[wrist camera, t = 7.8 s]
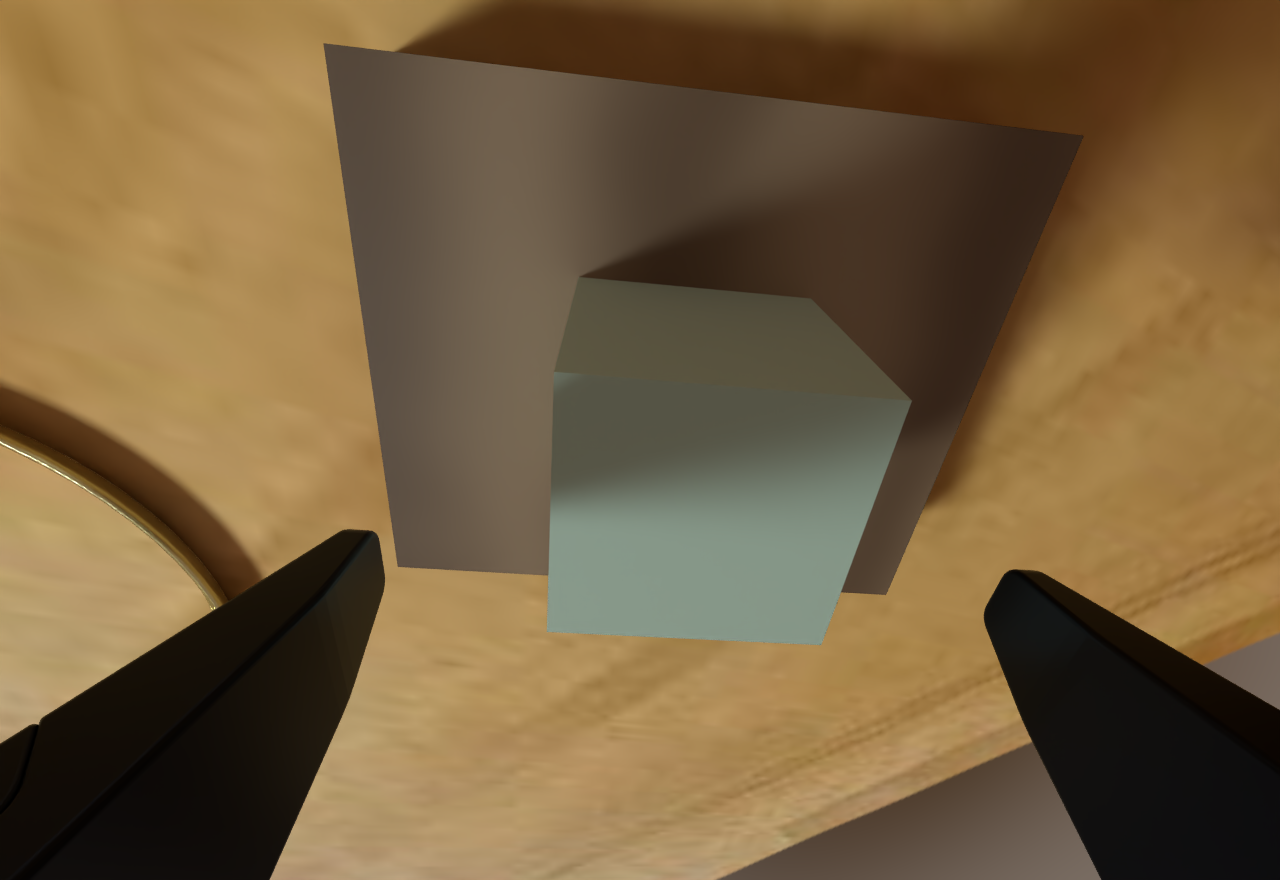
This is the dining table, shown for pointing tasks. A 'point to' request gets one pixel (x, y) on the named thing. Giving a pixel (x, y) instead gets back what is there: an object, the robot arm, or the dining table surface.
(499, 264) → the walnut block
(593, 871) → the dining table surface
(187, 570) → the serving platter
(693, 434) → the sage cube
